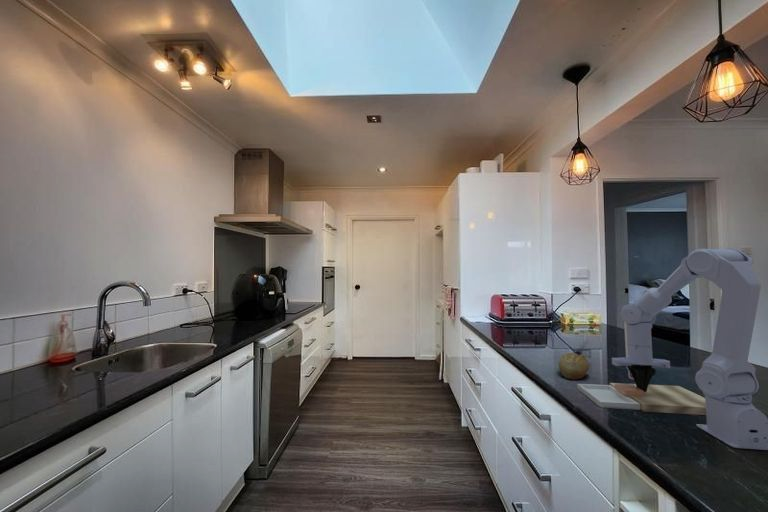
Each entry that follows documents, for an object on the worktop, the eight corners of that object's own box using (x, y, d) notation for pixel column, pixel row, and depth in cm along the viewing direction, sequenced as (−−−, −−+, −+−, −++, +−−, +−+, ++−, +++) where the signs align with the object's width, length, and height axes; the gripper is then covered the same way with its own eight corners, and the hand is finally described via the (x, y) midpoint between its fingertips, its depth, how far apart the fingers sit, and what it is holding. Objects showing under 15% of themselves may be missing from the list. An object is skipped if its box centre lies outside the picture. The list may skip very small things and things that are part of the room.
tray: (610, 390, 97) (610, 385, 97) (640, 409, 83) (640, 404, 83) (577, 388, 99) (577, 383, 99) (601, 407, 85) (600, 401, 85)
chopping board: (679, 392, 95) (678, 385, 95) (728, 416, 79) (727, 408, 79) (609, 389, 98) (609, 382, 98) (644, 411, 82) (643, 404, 82)
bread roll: (591, 372, 115) (590, 351, 115) (588, 384, 103) (587, 360, 103) (562, 367, 121) (561, 347, 121) (556, 378, 109) (555, 356, 109)
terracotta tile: (633, 389, 92) (632, 384, 92) (644, 396, 87) (643, 391, 87) (615, 389, 93) (614, 383, 93) (624, 395, 88) (624, 390, 88)
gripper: (656, 342, 93) (659, 386, 92) (605, 341, 95) (607, 384, 95) (674, 348, 86) (677, 396, 85) (618, 346, 89) (621, 393, 88)
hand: (641, 390), depth 90 cm, fingers closed
